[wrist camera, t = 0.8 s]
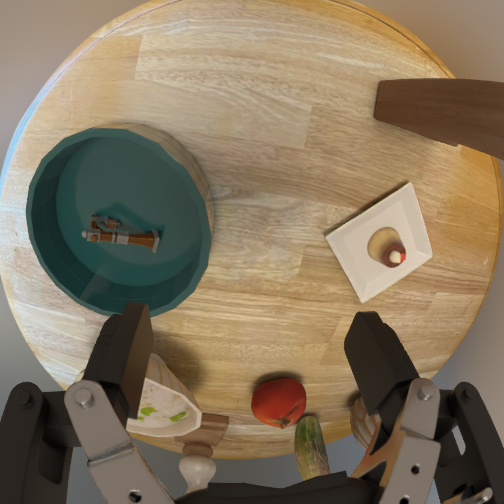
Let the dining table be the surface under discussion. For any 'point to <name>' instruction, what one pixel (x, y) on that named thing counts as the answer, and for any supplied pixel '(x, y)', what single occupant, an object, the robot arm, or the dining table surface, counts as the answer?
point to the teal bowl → (121, 218)
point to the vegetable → (310, 449)
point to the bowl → (163, 404)
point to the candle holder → (201, 450)
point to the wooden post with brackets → (119, 234)
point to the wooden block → (447, 111)
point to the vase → (362, 423)
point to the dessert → (382, 243)
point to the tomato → (279, 402)
